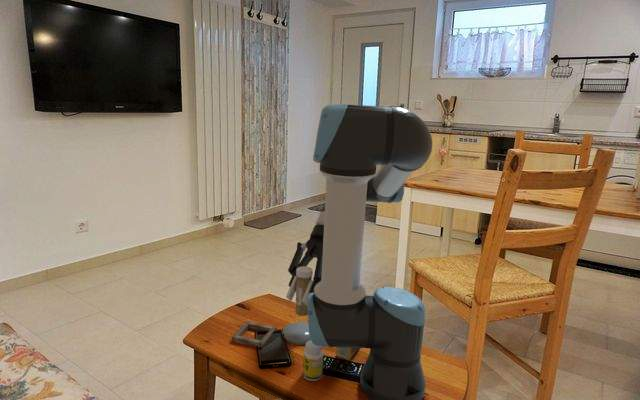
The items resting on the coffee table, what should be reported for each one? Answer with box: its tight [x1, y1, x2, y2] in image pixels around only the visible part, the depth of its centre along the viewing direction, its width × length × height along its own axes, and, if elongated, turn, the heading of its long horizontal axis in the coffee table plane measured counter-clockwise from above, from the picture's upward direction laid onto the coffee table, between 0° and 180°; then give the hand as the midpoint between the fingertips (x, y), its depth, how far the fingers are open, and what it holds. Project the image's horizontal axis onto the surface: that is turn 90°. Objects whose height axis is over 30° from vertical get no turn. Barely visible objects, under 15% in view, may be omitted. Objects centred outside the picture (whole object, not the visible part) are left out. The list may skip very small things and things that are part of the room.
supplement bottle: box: [302, 340, 324, 382], centre depth 101 cm, size 5×5×8 cm
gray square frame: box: [231, 320, 278, 348], centre depth 118 cm, size 9×9×1 cm
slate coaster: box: [282, 321, 311, 346], centre depth 121 cm, size 11×11×1 cm
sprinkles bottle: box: [294, 266, 313, 317], centre depth 118 cm, size 5×5×13 cm
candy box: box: [335, 294, 368, 361], centre depth 112 cm, size 9×4×15 cm, turn 151°
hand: (296, 300), depth 115 cm, fingers closed on sprinkles bottle, 4 cm apart
